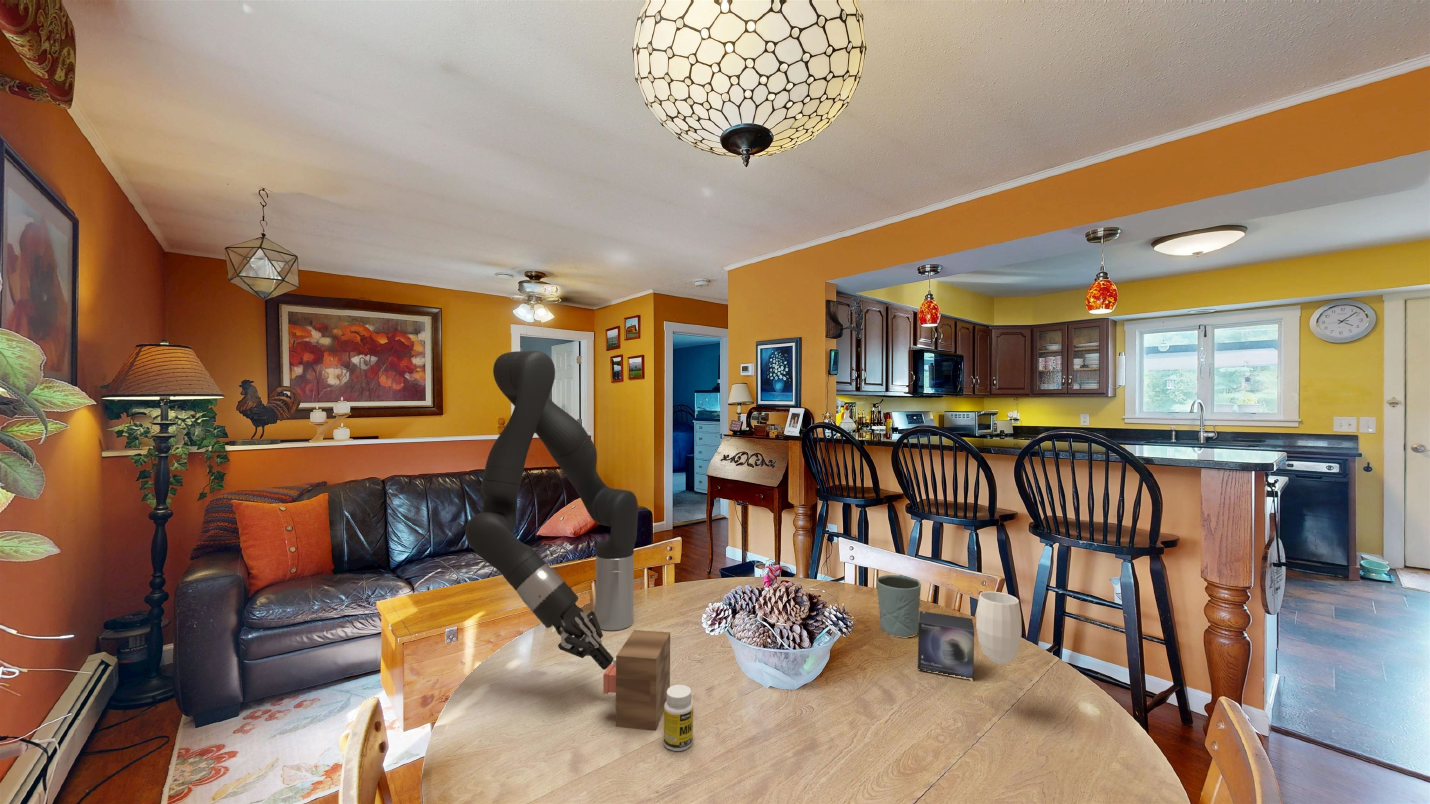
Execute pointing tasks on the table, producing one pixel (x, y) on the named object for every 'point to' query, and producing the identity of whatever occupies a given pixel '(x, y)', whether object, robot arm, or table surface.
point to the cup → (999, 626)
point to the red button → (609, 680)
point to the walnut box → (642, 679)
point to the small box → (946, 644)
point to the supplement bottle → (678, 718)
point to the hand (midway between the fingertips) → (609, 664)
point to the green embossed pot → (899, 604)
